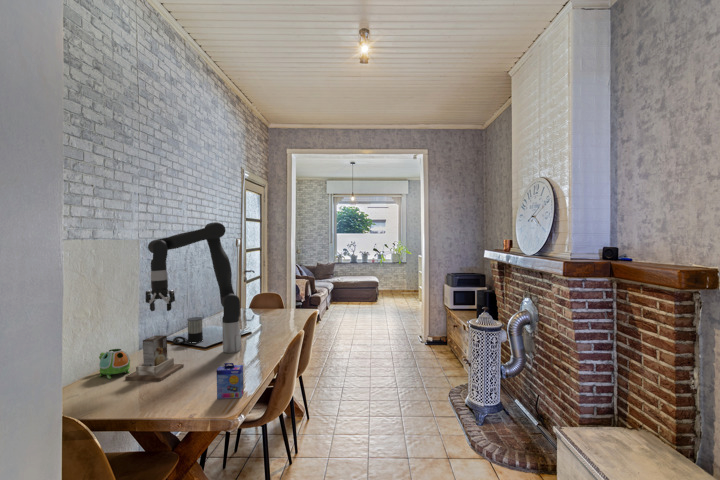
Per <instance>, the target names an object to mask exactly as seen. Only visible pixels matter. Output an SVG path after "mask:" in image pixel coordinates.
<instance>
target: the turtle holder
mask: <svg viewBox="0 0 720 480" xmlns="http://www.w3.org/2000/svg"><path fill="white" fill-rule="evenodd" d="M98 358H99V364H98V365H99V373H100V374H99V377H100V378H101V377H103V376H104V375H106V378H107V379H109V380H110V379H112V378H113V377H112V376H111V375H118V374H122V373H124V372H125V373H126V374H127V373H129V374H131V372H130V370H129V369H130V368H131V359H130V356H129V354H128V352H126V351H125V350H124V349H123V348H118V347H116V348H110V349H108V350H106V352H104V351H103V352H101V353H100V354H99V356H98Z"/></svg>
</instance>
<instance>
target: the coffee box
mask: <svg viewBox="0 0 720 480" xmlns="http://www.w3.org/2000/svg"><path fill="white" fill-rule="evenodd" d="M167 337H168V336H167V335H163V334H162V335H161V334H160V335H157V334H156V335H152V336H150V337H148V338H146V339H142V355H143V359H142V360H143V363H144V366H157V365H159V364H161V363H163V362H164V361H166V360H168V359H167V358H168V341H167V339H168V338H167Z"/></svg>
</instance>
